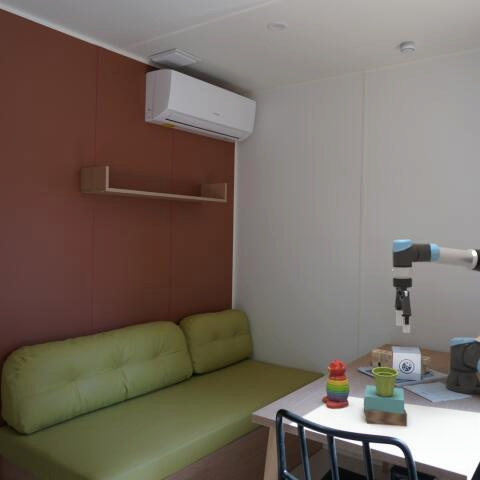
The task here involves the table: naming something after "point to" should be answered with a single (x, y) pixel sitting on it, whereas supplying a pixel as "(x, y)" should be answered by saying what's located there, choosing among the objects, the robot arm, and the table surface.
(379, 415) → the tower base
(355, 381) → the table surface
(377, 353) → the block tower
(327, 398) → the stacking bear
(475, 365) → the robot arm
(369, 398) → the tower top
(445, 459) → the table surface
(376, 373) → the plant pot
